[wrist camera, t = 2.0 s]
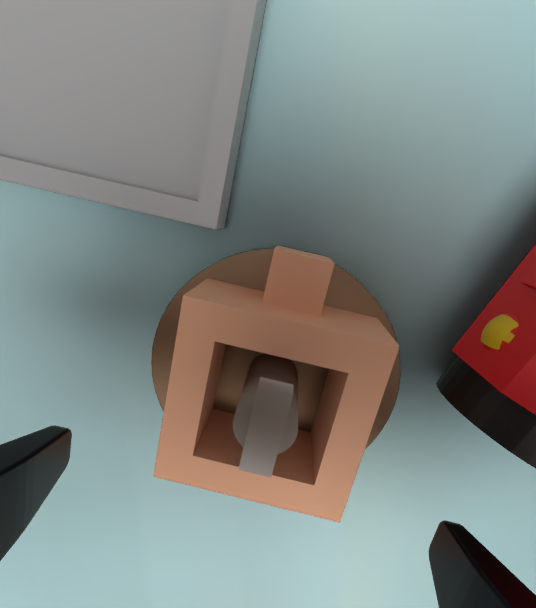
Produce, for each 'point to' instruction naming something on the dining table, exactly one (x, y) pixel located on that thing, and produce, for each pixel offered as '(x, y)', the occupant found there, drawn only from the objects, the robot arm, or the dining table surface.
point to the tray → (128, 100)
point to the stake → (269, 367)
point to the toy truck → (500, 366)
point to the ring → (287, 344)
